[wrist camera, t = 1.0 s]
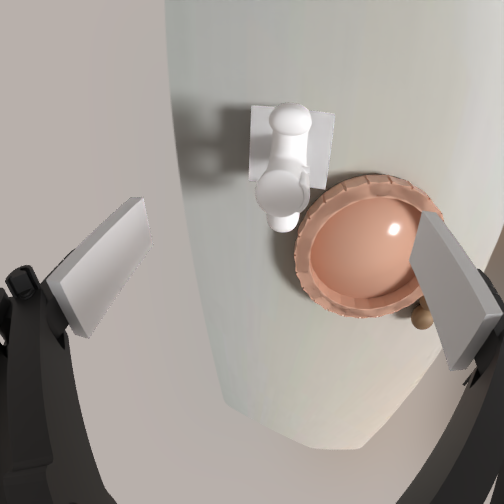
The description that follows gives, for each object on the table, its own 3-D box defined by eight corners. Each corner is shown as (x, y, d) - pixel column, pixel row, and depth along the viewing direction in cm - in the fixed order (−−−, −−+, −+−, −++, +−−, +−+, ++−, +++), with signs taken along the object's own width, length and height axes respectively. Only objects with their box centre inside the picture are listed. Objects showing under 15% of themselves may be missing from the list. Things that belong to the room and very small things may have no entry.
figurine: (253, 178, 31) (218, 260, 19) (257, 91, 26) (217, 105, 13) (321, 186, 30) (333, 274, 18) (332, 98, 25) (363, 120, 13)
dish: (298, 165, 29) (297, 173, 27) (456, 183, 27) (466, 192, 24) (290, 300, 40) (289, 314, 37) (417, 305, 37) (421, 319, 35)
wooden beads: (420, 278, 34) (428, 296, 32) (459, 280, 34) (468, 297, 31) (405, 316, 38) (410, 335, 36) (442, 316, 38) (449, 333, 35)
